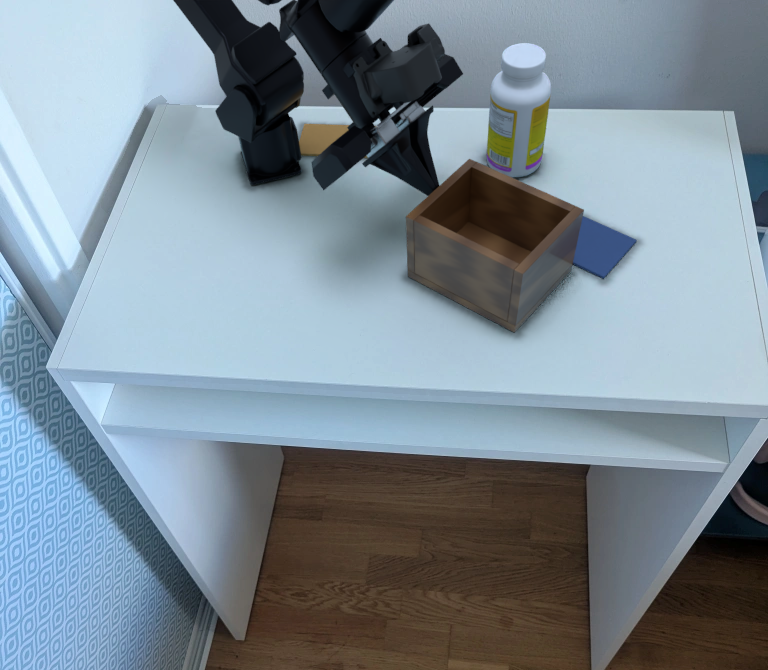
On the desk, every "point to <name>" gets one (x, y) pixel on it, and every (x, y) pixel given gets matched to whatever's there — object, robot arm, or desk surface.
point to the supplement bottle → (518, 111)
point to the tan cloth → (319, 137)
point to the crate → (492, 243)
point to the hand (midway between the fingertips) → (436, 194)
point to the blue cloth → (600, 247)
